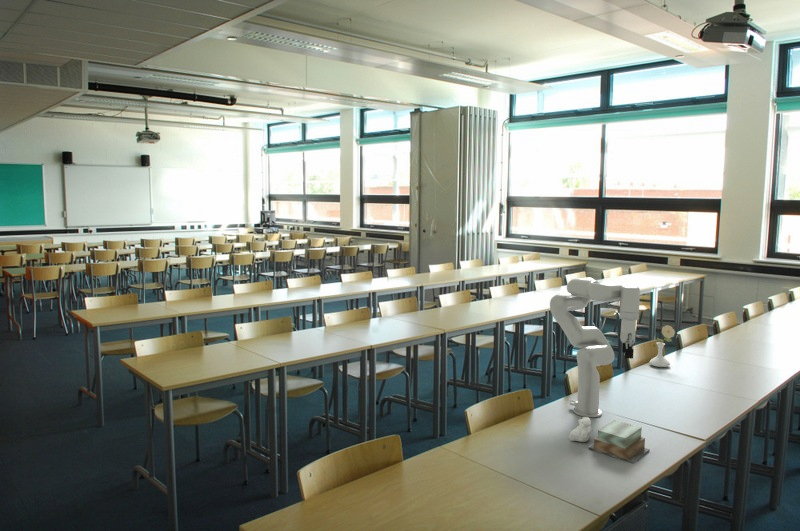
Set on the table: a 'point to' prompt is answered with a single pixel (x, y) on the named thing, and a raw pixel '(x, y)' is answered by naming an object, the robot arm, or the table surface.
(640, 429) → the sage layered slab
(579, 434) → the bust
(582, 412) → the robot arm
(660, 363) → the flower in vase
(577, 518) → the table surface
